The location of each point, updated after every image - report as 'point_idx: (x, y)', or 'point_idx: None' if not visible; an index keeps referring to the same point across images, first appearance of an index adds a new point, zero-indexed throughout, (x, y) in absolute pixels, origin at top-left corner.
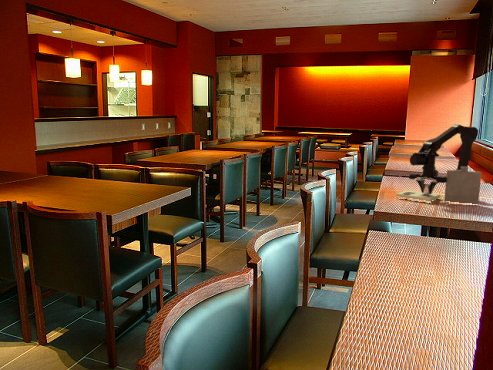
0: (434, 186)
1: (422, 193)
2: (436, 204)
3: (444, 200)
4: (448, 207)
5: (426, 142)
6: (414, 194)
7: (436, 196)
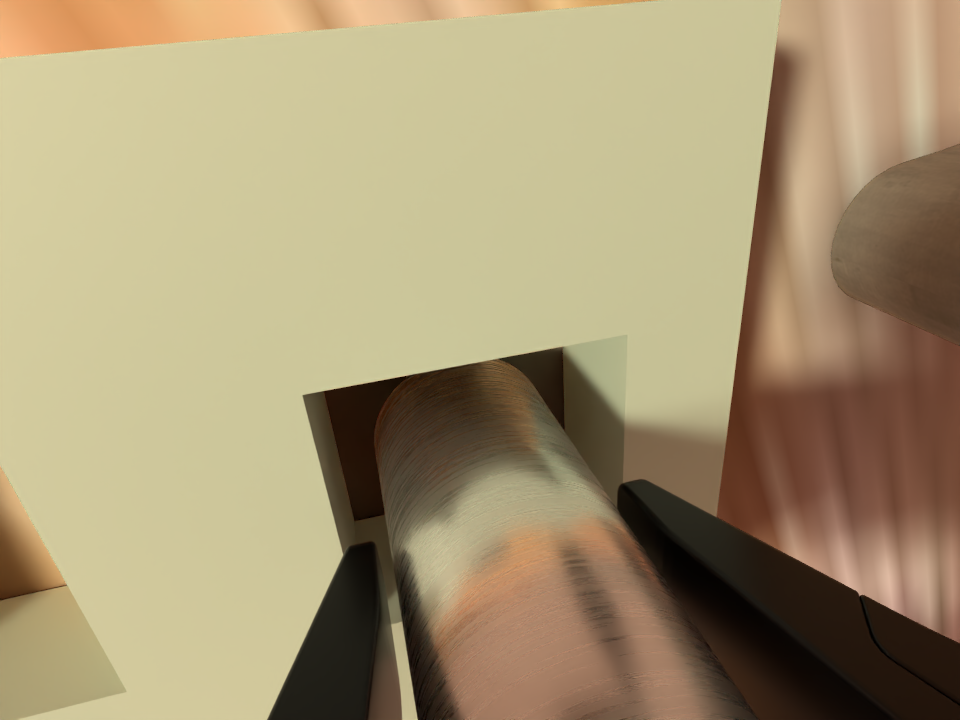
0: (954, 685)
1: (204, 353)
2: (739, 512)
3: (884, 300)
4: (929, 526)
5: None
6: (187, 678)
7: (728, 327)
